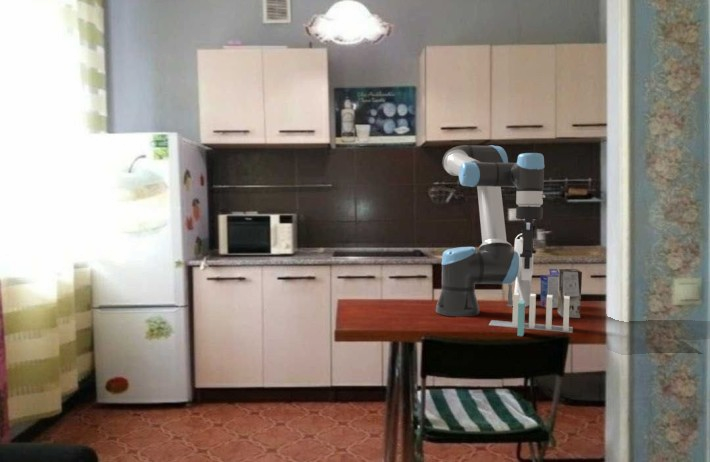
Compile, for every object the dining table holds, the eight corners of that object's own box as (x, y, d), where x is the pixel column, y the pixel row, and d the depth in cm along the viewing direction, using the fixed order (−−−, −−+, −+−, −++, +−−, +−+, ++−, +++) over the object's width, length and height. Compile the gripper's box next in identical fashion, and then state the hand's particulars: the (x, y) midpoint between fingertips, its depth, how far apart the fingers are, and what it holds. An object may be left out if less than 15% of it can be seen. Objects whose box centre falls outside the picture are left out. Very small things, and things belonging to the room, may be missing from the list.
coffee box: (581, 318, 189) (582, 271, 188) (561, 317, 190) (562, 271, 189) (575, 313, 198) (577, 268, 197) (557, 312, 199) (558, 268, 198)
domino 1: (512, 326, 173) (513, 294, 173) (513, 322, 178) (514, 292, 178) (517, 326, 173) (518, 295, 172) (518, 323, 177) (519, 292, 177)
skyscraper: (515, 302, 217) (517, 232, 216) (535, 305, 212) (538, 233, 210) (506, 305, 211) (508, 233, 209) (527, 308, 205) (529, 234, 204)
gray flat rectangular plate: (488, 326, 175) (488, 325, 175) (491, 321, 182) (491, 320, 182) (572, 333, 166) (572, 332, 166) (572, 328, 173) (572, 327, 173)
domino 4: (562, 330, 168) (564, 298, 168) (563, 327, 173) (564, 295, 172) (568, 331, 167) (569, 298, 167) (568, 327, 172) (569, 296, 172)
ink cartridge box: (561, 305, 214) (562, 268, 213) (570, 307, 208) (571, 269, 208) (538, 305, 211) (540, 268, 210) (547, 308, 206) (548, 270, 205)
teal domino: (517, 337, 161) (518, 303, 160) (518, 333, 166) (519, 300, 165) (522, 337, 160) (523, 303, 160) (524, 333, 165) (525, 300, 164)
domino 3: (545, 329, 170) (546, 297, 169) (546, 325, 174) (547, 294, 174) (551, 329, 169) (552, 297, 169) (551, 326, 174) (552, 295, 173)
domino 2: (528, 327, 172) (529, 295, 171) (529, 324, 176) (530, 293, 176) (534, 328, 171) (535, 296, 171) (535, 324, 176) (535, 293, 175)
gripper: (542, 205, 149) (540, 283, 150) (543, 206, 173) (541, 273, 174) (513, 205, 152) (511, 281, 153) (518, 205, 175) (516, 272, 176)
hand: (527, 277), depth 163 cm, fingers open, 13 cm apart
